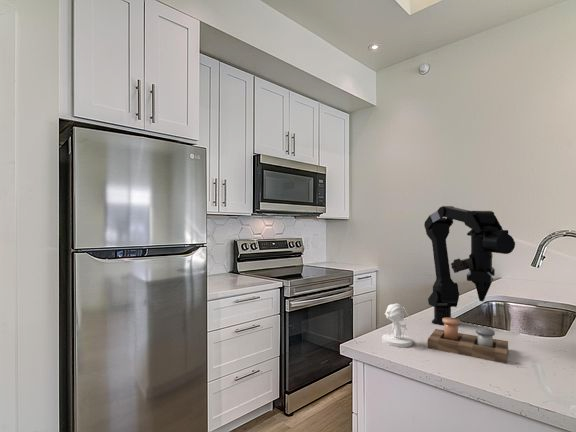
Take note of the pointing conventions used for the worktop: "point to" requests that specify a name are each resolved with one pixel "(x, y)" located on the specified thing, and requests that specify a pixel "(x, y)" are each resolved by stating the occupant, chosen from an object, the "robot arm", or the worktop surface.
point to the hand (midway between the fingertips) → (481, 301)
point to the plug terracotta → (450, 328)
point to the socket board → (469, 346)
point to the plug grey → (485, 337)
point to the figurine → (396, 327)
